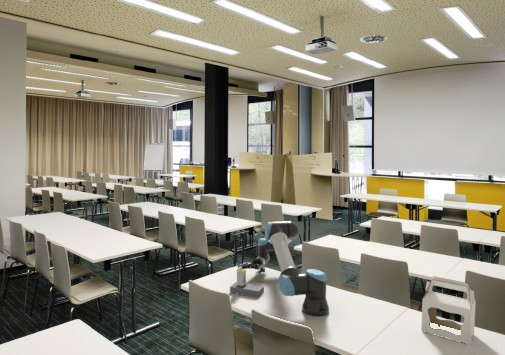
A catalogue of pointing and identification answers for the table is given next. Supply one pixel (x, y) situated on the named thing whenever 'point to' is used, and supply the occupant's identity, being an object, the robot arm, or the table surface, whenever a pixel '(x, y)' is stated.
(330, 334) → the table surface
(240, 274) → the steel peg
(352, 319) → the table surface
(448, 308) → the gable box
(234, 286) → the grey rectangular block
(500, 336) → the table surface
